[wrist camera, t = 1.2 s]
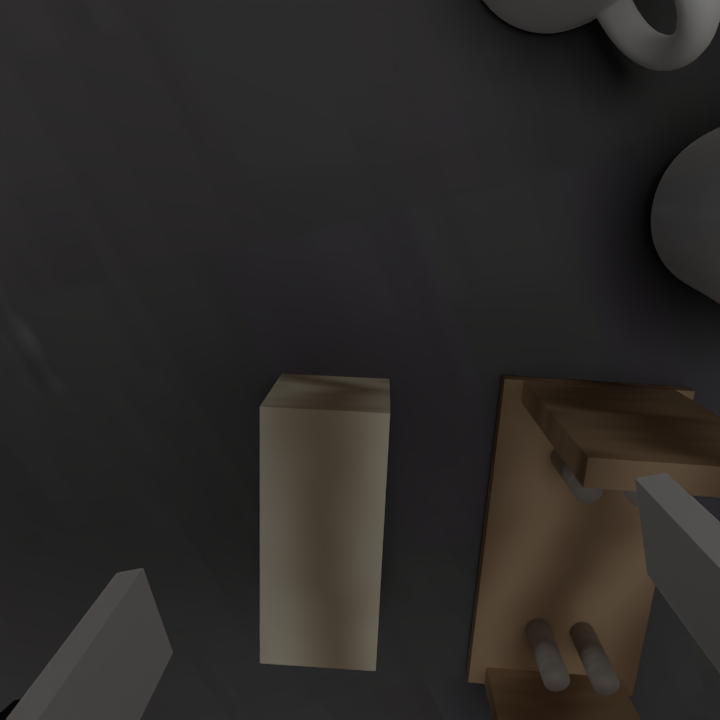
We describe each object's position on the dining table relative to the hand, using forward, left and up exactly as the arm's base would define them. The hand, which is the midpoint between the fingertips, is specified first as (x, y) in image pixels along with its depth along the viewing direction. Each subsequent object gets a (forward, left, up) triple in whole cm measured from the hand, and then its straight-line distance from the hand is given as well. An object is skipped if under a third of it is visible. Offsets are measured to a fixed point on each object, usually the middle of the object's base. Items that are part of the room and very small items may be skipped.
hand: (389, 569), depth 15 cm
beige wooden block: (-3, -7, -18) cm, 19 cm away
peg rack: (+11, -9, -18) cm, 23 cm away
